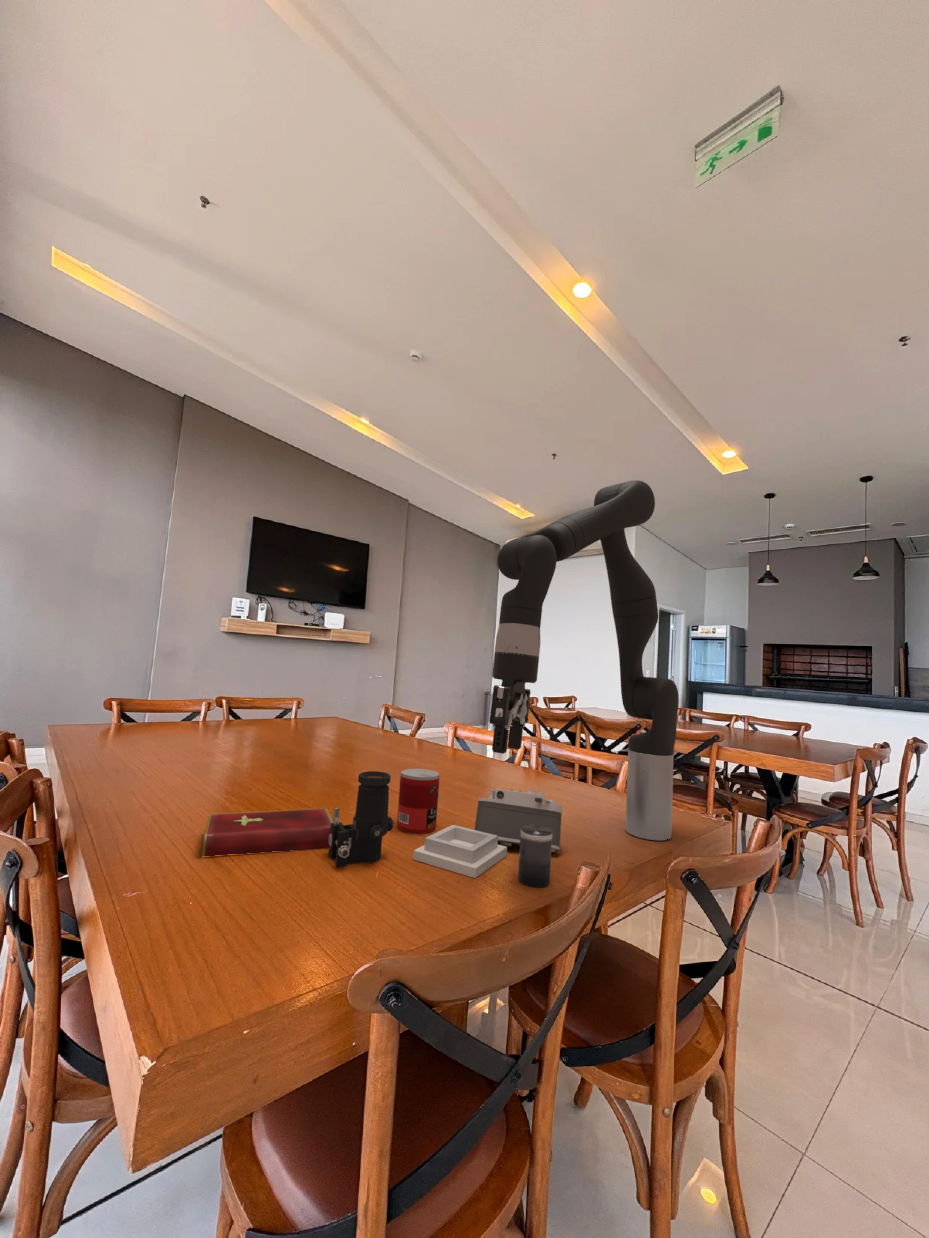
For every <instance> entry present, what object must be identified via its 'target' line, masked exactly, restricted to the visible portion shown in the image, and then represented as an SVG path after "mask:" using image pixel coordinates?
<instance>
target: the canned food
mask: <svg viewBox="0 0 929 1238" xmlns="http://www.w3.org/2000/svg"><path fill="white" fill-rule="evenodd" d="M439 789H440V772H438V771H436V770H432V769H427V768H407V769H404V770H401V772H400V779H399V789H398V790H399V793H398V804H397V805H398V806H397V807H398V808H397V809H398V810H397V818H396V819H397V821H396V822H397V827H398V829H399V830H400V831H403V832H405V833H409V834H414V835H415V834H429V833H431V832H434V831H435V830H436V827H437V820H438V819H437V817H438V802H439Z"/></svg>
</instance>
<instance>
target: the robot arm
mask: <svg viewBox="0 0 929 1238" xmlns="http://www.w3.org/2000/svg"><path fill="white" fill-rule="evenodd" d="M655 507H656V499H655V494H654V491H653V489H652V488H651V486H650V485H649V484H648V482H645V481H643V480H636V479H634V480H627V481H624V482H621V483H617V484H612V485H608V486H605V487H602V488H600V489H598V491H597V492H596V494H595V496H594V500H593V506H591V507H588V508H585V509H582V510H581V509H580V510H578V511H576V512H572V513H570V514H567V515H565V516H563V517H561V518H559V519H557V520H555V521H553V522H551V523H549V524H547V525H546V526H544V527H542V528H540V529H538V530H535V531H532V532H530V533H526V534H523V535H521V536H518V537H515V538H513V539H511V540H508V541H507V542H506V543H505V544H503V545H502V546H501V548H500V549H499V552H498V554H497V559H496V560H497V561H496V562H497V568H498V570H499V572H500V573H501V574H502V575H503V576H504V577H506V578H508V579H510V580H512V581H513V580H514V581H515V580H516V581H518V582H517V584H516V586H515V587H513V588H512V589H511V590H508V591H507V592H505V593H504V594H503V596H502V598H501V605H500V613H499V621H498V628H497V633H496V635H495V636H496V637H495V645H494V654H493V664H492V673H491V675H492V678H493V679H495V680H500V681H501V684H500V685H494V686H493V688H492V689H493V690H492V697H491V705H490V712H489V713H490V714H489V719H488V720H489V724H492V728H493V737H492V745H491V746H492V748H491V750H492V752H493V753H498V754H506V753H507V750H508V749H510V750H511V749H512V750H517V751H518V750H520V749H522V741H523V734H524V733H523V732H524V730H523V729H524V728H525V726H526V724H528V722H529V713H530V712H529V711H530V700H531V699H530V698H531V689H530V688H526V684H527V683H529V684H535V683H537V681H538V671H539V662H540V653H541V652H540V651H541V624H542V616H543V615H542V613H543V605H544V601H545V599H546V597H547V594H548V591H549V588H550V586H551V584H552V580H553V578H554V574H555V570H556V567H557V563H558V562H561V561H564V560H567V559H568V558H570V557H572V556H573V555H575V554H577V553H579V552H580V551H582V550H584V549H585V548H587V547H589V546H591V545H593V544H594V543H596V542H598V541H600V545H601V548H602V552H603V555H604V561H605V562H604V563H605V567H606V573H607V579H608V585H609V593H610V595H609V596H610V602H611V609H612V616H613V617H612V618H613V623H614V626H615V627H614V628H615V634H616V640H617V648H618V659H619V675H620V693H621V701H622V706H623V708H624V711H625V712H626V714H627V715H628V716H630V717H631V718H637V719H642V720H649V721H651V726H650V728H649V729H648V730H646V731H645V732H642V733H638V734H633V735H631V736H630V737H629V739H628V744H627V745H628V750H627V751H628V752H627V774H626V775H627V776H626V777H627V779H626V781H627V782H626V804H625V805H626V807H625V809H626V810H625V832H626V833H628V834H629V835H632V836H634V837H637V838H640V839H644V840H648V841H649V840H651V841H668V840H670V839H671V838H672V831H673V830H672V827H673V826H672V825H673V823H672V822H673V796H674V795H673V792H674V791H673V790H674V787H673V786H674V750H675V744H676V739H677V729H678V728H677V727H678V726H677V725H678V716H679V715H678V713H679V702H680V701H679V700H680V699H679V697H680V696H679V690H678V688H677V685H676V683H675V682H674V680H673V679H670V678H664V677H652V676H650V677H649V676H644V673H643V656H644V652H645V648H646V647H647V644H648V643H649V641H650V639H651V637H652V635H653V633H654V632H655V629H656V627H657V624H658V621H659V608H658V601H657V593H656V592H657V591H656V588H655V585H654V582H653V581H652V579H651V578H650V577H649V575H648V574H647V573H646V571H645V570H644V569H643V568H642V566H641V565H640V564H639V562H638V561H637V560H636V558H635V557H634V556H633V554H632V552H631V550H630V547H629V545H628V541H627V535H626V533H625V530H626V529H627V528H632V527H638V526H641V525H643V524H644V523H647V522H648V521H649V520H650V519H651V518H652V516H653V514H654V512H655ZM667 839H668V840H667Z"/></svg>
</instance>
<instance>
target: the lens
mask: <svg viewBox="0 0 929 1238" xmlns="http://www.w3.org/2000/svg"><path fill="white" fill-rule="evenodd" d="M551 846H552V830H551V829H550V828H548V827H545V826H542V825H534V824H529V825H523V826H522V827H521V830H520V845H519V859H518V877H517V879H518V882H519V883H520V884H522V885H523V886H524V887H525V886H526V887H529V888H533V889H543V888H547V887H549V886H550V884H551V866H552V864H551V861H552V853H551Z"/></svg>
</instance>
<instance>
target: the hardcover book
mask: <svg viewBox="0 0 929 1238" xmlns="http://www.w3.org/2000/svg"><path fill="white" fill-rule="evenodd" d="M206 822H207V823H206V826H205V830H204V833H203V839H202V840H203V841H202V851H201V857H202V856H215V855H227V854H247V853H260V852H272V851H285V852H291V851H290V850H298V851H309V850H308V849H310V850H321V848H323V849H330V848H331V847H330V846H329V835H330V834H331V823H333V817H331V814H330V812H329V810H328V808H327V807H324V808H323V807H322V808H303V809H283V810H281V809H279V810H262V811H261V810H260V811H247V812H246V811H245V812H244V811H243V812H242V811H241V812H239V811H238V812H223V813H221V812H220V813H219V812H218V813H209V815H208V818H207V821H206ZM260 854H261V853H260ZM247 855H248V854H247Z"/></svg>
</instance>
